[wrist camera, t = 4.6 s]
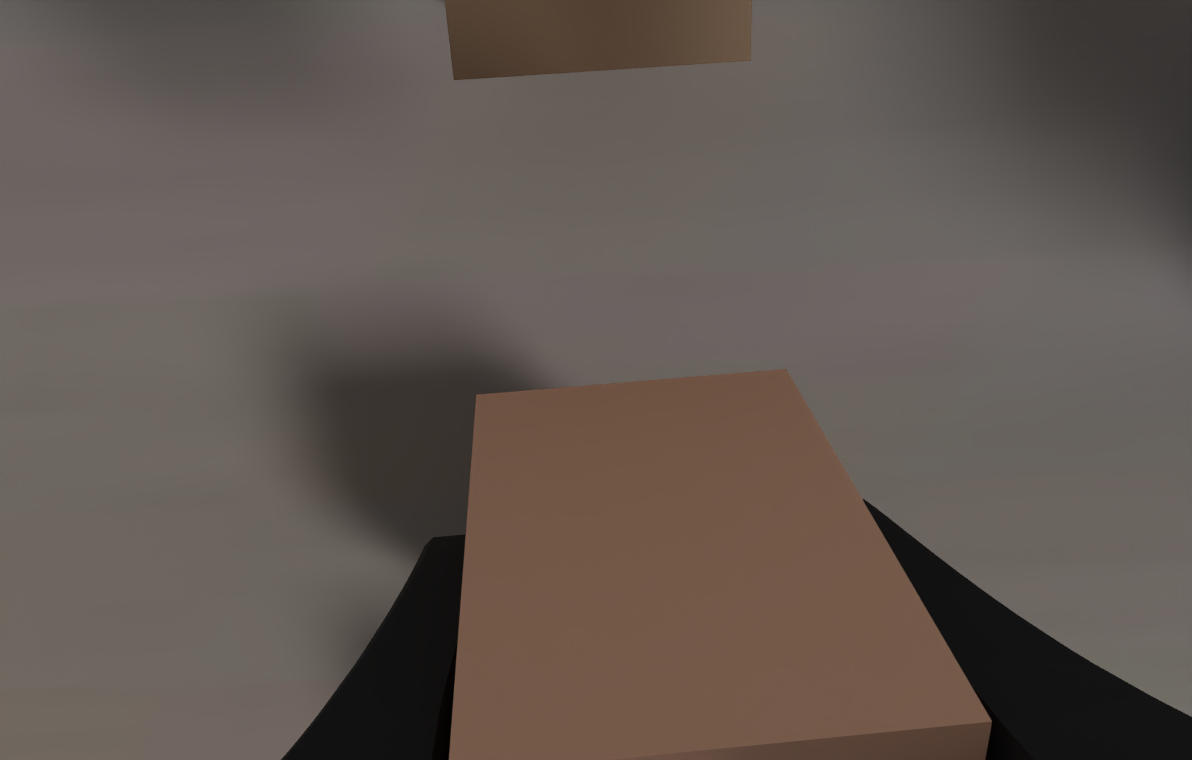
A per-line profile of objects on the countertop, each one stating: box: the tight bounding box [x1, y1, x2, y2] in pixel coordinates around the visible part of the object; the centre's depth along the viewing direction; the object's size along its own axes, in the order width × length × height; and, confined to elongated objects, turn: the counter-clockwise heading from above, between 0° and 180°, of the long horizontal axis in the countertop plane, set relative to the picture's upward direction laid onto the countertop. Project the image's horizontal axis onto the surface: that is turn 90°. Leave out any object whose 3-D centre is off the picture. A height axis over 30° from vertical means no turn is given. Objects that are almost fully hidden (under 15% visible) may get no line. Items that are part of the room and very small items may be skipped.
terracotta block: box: [449, 369, 992, 760], centre depth 11 cm, size 4×4×6 cm
